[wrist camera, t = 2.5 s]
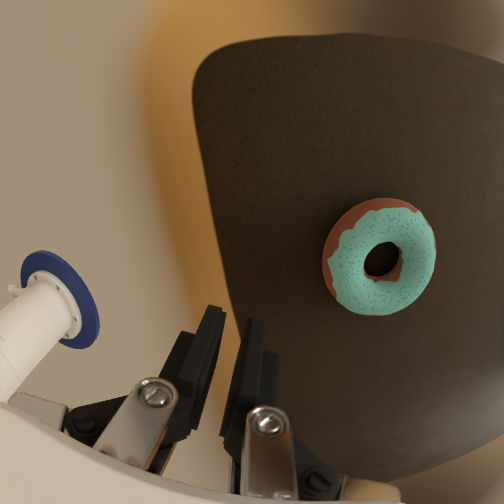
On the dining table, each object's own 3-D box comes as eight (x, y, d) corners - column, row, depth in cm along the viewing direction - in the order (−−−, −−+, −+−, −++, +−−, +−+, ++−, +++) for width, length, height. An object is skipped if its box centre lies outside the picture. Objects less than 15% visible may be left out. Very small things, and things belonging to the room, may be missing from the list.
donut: (326, 311, 30) (330, 333, 26) (310, 204, 25) (315, 214, 22) (423, 290, 27) (438, 309, 24) (423, 186, 23) (443, 194, 20)
